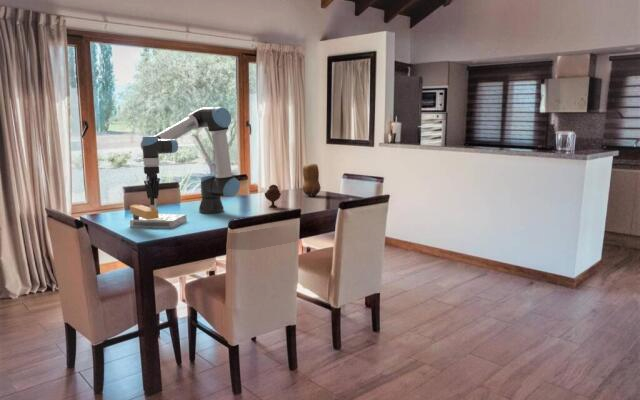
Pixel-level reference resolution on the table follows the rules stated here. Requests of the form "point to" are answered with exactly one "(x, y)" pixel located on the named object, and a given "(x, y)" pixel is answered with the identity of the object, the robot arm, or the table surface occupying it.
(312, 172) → the butternut squash
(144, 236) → the table surface
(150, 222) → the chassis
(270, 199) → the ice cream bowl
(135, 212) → the long orange block
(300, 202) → the table surface
